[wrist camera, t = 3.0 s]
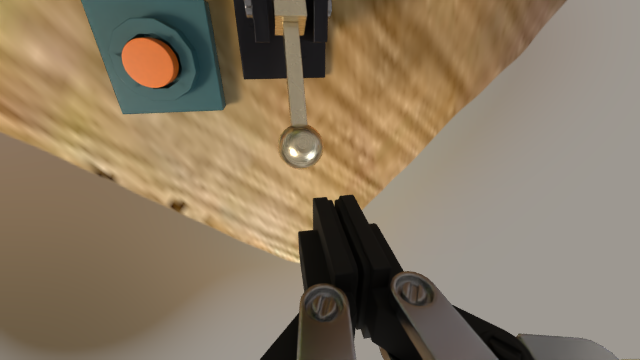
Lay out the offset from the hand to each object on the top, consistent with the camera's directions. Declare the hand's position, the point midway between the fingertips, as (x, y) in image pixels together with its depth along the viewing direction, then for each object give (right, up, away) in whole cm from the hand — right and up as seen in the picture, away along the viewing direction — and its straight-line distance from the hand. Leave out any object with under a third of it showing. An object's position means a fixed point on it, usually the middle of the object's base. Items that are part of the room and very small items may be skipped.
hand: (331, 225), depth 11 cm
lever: (-3, +9, +9) cm, 13 cm away
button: (-16, +13, +13) cm, 24 cm away
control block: (-16, +15, +16) cm, 27 cm away
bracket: (-5, +19, +16) cm, 25 cm away
